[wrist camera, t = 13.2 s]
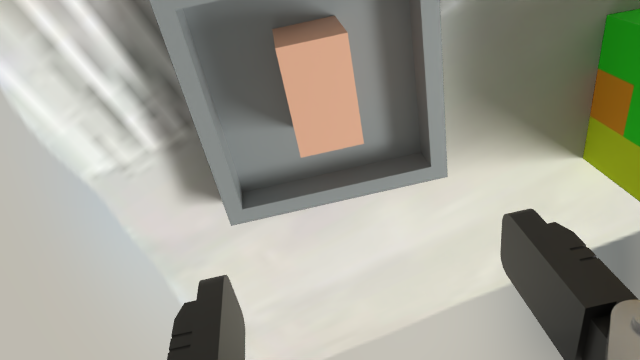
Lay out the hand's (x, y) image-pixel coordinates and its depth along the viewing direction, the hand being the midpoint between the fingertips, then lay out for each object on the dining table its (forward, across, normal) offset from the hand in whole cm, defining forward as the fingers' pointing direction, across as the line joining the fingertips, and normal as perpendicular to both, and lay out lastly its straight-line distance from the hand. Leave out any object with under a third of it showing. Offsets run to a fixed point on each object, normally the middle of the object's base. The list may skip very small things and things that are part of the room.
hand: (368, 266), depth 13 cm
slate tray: (+17, 0, 0) cm, 17 cm away
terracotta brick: (+16, 0, 0) cm, 16 cm away
